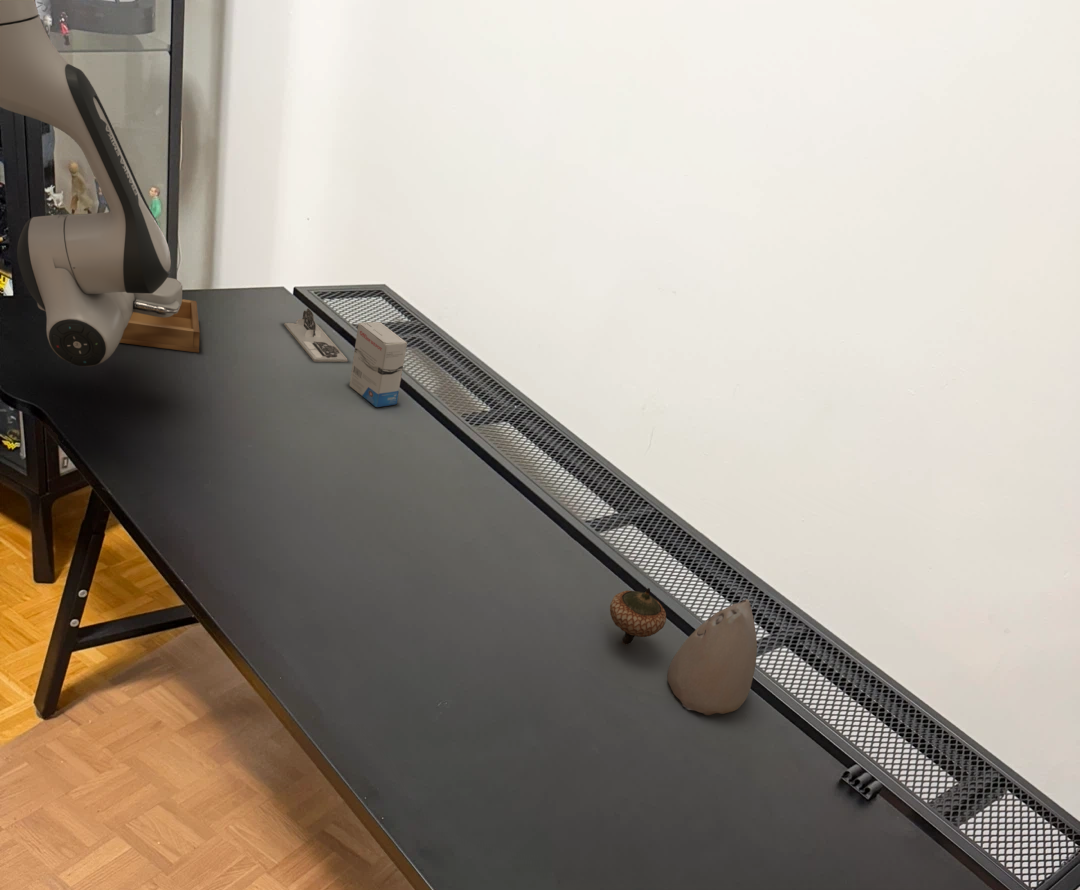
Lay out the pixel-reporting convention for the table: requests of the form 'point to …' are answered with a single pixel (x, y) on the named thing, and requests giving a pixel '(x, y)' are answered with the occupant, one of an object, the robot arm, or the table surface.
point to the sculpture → (716, 662)
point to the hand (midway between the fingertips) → (118, 265)
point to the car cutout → (314, 340)
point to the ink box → (377, 364)
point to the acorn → (637, 614)
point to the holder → (165, 329)
